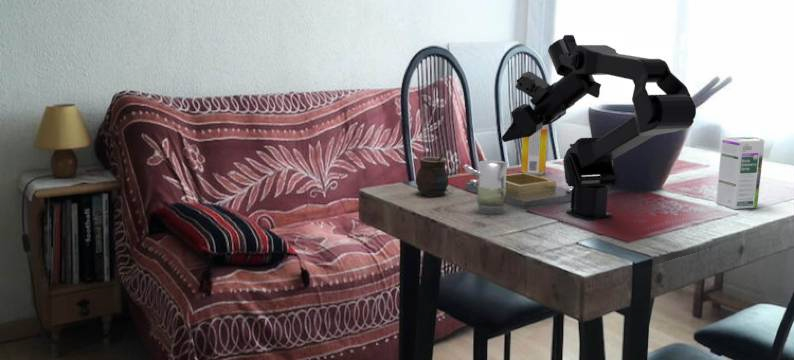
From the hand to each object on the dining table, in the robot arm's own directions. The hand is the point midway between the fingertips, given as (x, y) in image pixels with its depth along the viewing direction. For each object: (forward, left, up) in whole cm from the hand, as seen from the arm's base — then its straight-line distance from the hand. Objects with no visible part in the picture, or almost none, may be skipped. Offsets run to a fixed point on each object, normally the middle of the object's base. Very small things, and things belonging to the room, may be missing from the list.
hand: (511, 135), depth 150 cm
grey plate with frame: (-1, -3, -14) cm, 14 cm away
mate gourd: (+9, +14, -14) cm, 22 cm away
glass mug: (-8, +13, -14) cm, 20 cm away
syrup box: (-31, -36, -14) cm, 49 cm away
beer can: (+15, -21, -14) cm, 30 cm away
